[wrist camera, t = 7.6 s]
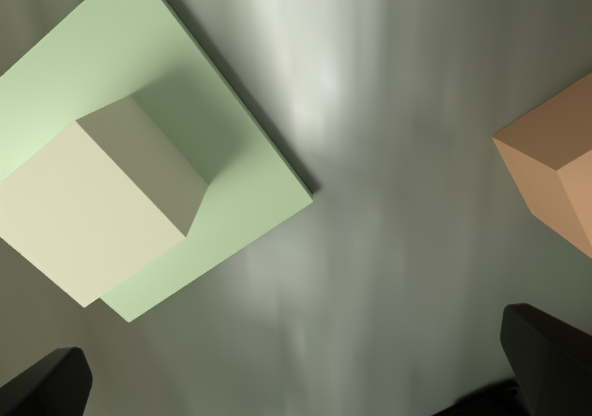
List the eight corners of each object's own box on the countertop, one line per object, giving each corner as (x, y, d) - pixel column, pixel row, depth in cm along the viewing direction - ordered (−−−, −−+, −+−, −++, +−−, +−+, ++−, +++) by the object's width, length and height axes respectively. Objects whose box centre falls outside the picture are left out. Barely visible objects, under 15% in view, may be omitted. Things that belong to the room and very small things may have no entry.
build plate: (312, 194, 20) (313, 201, 19) (133, 312, 22) (128, 322, 22) (136, -39, 15) (129, -42, 15) (-60, 140, 18) (-75, 145, 17)
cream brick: (130, 94, 17) (74, 120, 12) (208, 185, 19) (185, 237, 14) (47, 161, 18) (-33, 209, 13) (129, 241, 20) (84, 307, 15)
